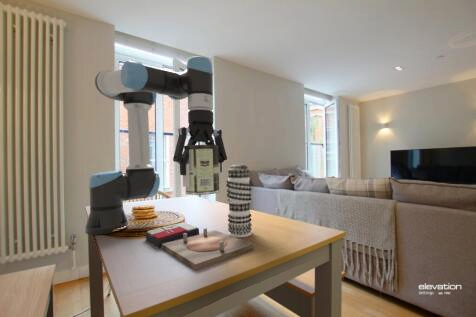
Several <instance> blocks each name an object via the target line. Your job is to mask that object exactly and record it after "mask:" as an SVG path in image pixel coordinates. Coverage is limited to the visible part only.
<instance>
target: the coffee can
mask: <svg viewBox="0 0 476 317" xmlns="http://www.w3.org/2000/svg"><path fill="white" fill-rule="evenodd" d="M218 148H219V146H218V145H216V144H215V145H206V144H195V145H188V146H187V145H184V149H183V151H184V150H188V149H189V159H188V161H187V163H186V164H189V175H190V187H185V191H184V192H185V195H190V196H191V195H192V196H204V195H205V196H207V195H213V194H214V195H215V194H219V193H220V192H221V190H220V184H219V162H218Z"/></svg>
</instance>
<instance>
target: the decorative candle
mask: <svg viewBox="0 0 476 317" xmlns="http://www.w3.org/2000/svg"><path fill="white" fill-rule="evenodd" d="M227 170H228V171H227V172H228V175H227V176H228V178H227V180H226V181H225V183H226V185H225V186H226V187H227V189H226V196H227V197H228V198H227V203H228V214H227V218H228V219H227V221H228V223H227V227H228V228H227V230H228V235H230V236H232V237H235V238H245V237H246V238H247V237H250V236H251V235H252V230H253V229H252V226H253V225H252V223H251V221H252V218H251V217H252V214H251V208H250V205H251V204H250V203H251V202H252V198H251V196H252V194H251V193H250V191H252V188H251V187H252V184H251V183H250V180H251V179H250V168H249V167H248V165H247V164H232V165H230V167H229V168H228V169H227Z"/></svg>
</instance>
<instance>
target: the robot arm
mask: <svg viewBox="0 0 476 317" xmlns="http://www.w3.org/2000/svg"><path fill="white" fill-rule="evenodd" d="M213 76H214V72H213V64H212V60H210V59H209V58H208V57H205V56H199V55H197V56H196V55H195V56H191V57H188V59H187V60H186V69H185V70H184V71H182V72H176V71H171V70H167V69H164V68H160V67H155V66H152V65H147V64H144V63H142V62H139V61H131V60H126V61H124V63H123V65H122V66H121V68H120V69H117V70H112V69H105V70H102V71H100V72H98V73H97V74H96V75H95V77H94V85H95V88H96V90H97V91H98V92H99V94H101V95H102V96H104V97H106V98H107V99H111V100H114V101H118V102H119V101H120V102H123V107H124V109H126V111H127V131H128V132H127V134H128V158H129V159H128V162H129V164H128V166H126V168H125V172H123V170H122V169H118V170H116V169H114V170H107V171H100V172H97V173H93V174H92V175H90V177H89V183H88V185H89V186H88V188H89V214H88V218H87V221H86V223H85V227H84V228H85V229H84V233H85V234H86V235H93V236H96V235H97V236H98V235H99V236H100V235H109V234H111V233H110V232H112V231H113V230H114V229H117V228H121V227H124V226H127V225H128V226H129V220H128V217H127V216H126V213H125V210H124V202H125V201H132V200H139V199H145V200H146V199H148V198H152V197H155V195H157V193H158V192H159V188H160V185H161V184H160V182H161V179H160V175H159V174H160V173H159V172H158V171H156V170H155V168H154V166H153V165H152V164H151V153H150V152H151V151H150V150H151V149H150V148H151V147H150V126H149V125H150V124H149V123H150V122H149V118H150V117H149V112H150V110H151V109H152V106H153V105H155V103H156V100H157V95H163V96H167V97H169V98H170V99H171V100H174V101H178V100H179V101H180V100H185V99H187V110H188V112H187V118H188V119H187V122H188V127H185V126H184V127H183V126H182V127H179V128H178V130H177V131H178V136H177V137H178V138H177V142H176V146H175V150H174V153H173V157H172V160H173V162H175V163H178V164H179V174H180V175H179V176H182V187H185V188H186V187H190V175H189V164H186V163H187V161H188V159H189V149H188V150H184V146H188V145H197V143H204V145H218V146H219V148H218V162H219V185H220V184H221V174H222V173H223V168H222V167H223V164H222V163H224V162H225V161H227V160H228V156H227V152H226V148H225V145H224V144H225V143H224V140H223V137H222V136H223V133H222V132H223V131H222V129H215V128H214V126H213V125H214V111H213V110H214V91H213V90H214V87H213V86H214V80H213V78H214V77H213ZM187 135H190V137H189V139H188V140H187ZM213 137H214V138H213ZM186 140H187V144H186ZM185 144H186V145H185ZM108 233H109V234H108Z"/></svg>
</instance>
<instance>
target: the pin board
mask: <svg viewBox="0 0 476 317" xmlns="http://www.w3.org/2000/svg"><path fill="white" fill-rule="evenodd" d="M161 249H162V250H163V251H165V252H166V253H168V254H169V255H171V256H172V257H175V258H176V259H177V260H179V261H181V262H182V263H183V264H185V265H187V266H188V267H189V268H191V269H193V270H195V271H199V270H201V269H203V268H206V267H209V266H212V265H214V264H217V263H219V262H222V261H225V260H229V259H230V258H234V257H235V256H236V257H237V256H239V255H241V254H243V253H246V252H249V251H251V250H254V243H252V242H249V241H246V240H244V239H240V238H239V237H232V236H230V235H229V234H227V233H223V232H221V231H218V230H215V229H214V230H209V231H208V228H206V227H204V228H203V232H201V233H199V234H197V235H194V236H190V237H187V233H184V234H183V238H182V239H178V240H175V241H171V242H167V243H163V244H162V248H161Z"/></svg>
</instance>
